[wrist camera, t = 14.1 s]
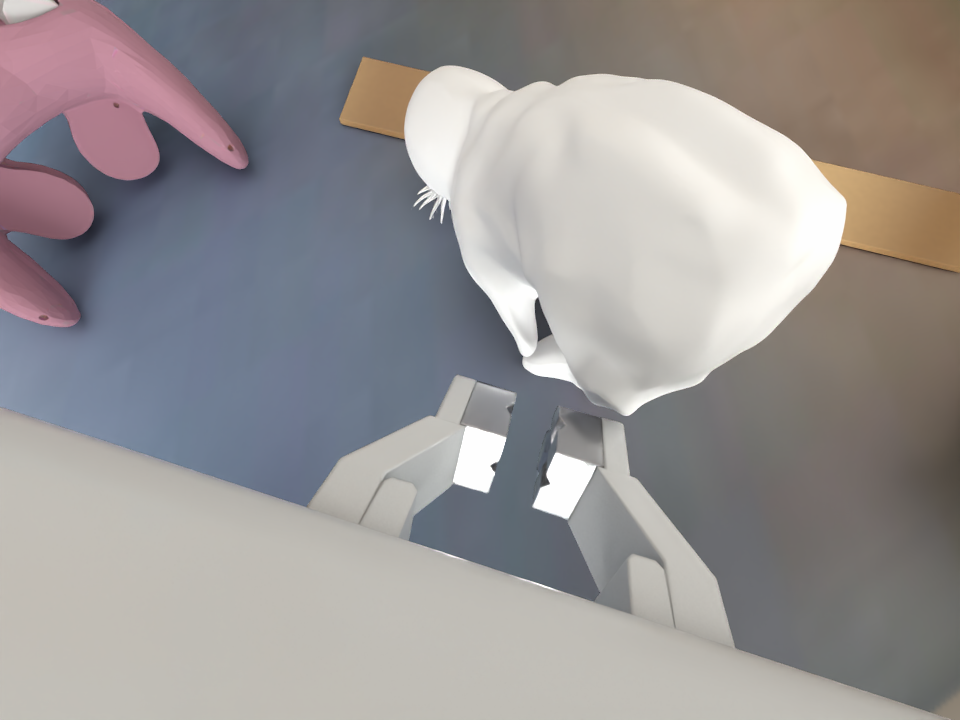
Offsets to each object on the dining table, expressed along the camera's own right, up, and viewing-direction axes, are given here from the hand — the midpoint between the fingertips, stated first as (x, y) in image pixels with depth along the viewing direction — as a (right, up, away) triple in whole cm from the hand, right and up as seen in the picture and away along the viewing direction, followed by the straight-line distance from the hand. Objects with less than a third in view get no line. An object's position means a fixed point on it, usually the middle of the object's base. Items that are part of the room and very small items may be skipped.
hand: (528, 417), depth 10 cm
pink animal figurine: (-15, +7, +6) cm, 18 cm away
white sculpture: (+1, +5, +6) cm, 8 cm away
